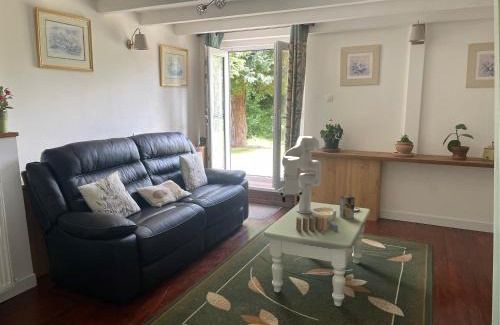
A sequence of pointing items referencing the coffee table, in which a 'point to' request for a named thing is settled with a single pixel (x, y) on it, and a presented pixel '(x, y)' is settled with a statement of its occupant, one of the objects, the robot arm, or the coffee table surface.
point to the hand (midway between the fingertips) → (290, 201)
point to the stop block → (333, 226)
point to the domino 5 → (323, 223)
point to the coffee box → (347, 207)
